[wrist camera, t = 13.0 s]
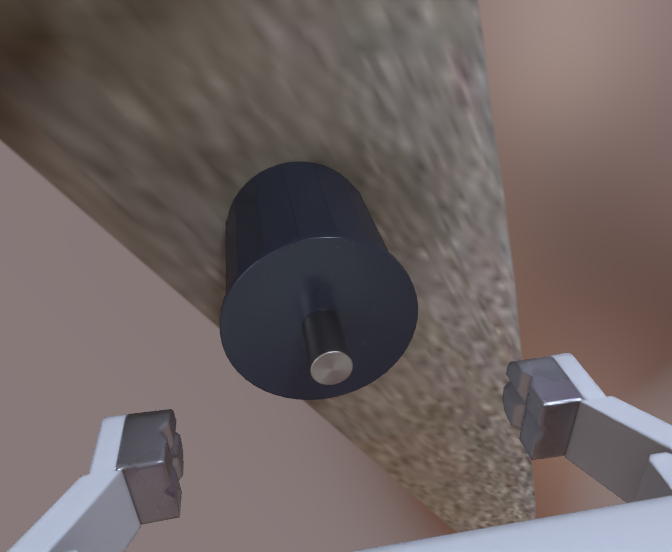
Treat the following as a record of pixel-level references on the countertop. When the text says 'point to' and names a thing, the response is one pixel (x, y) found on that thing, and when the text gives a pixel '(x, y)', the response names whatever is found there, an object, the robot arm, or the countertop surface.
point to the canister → (293, 211)
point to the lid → (318, 316)
